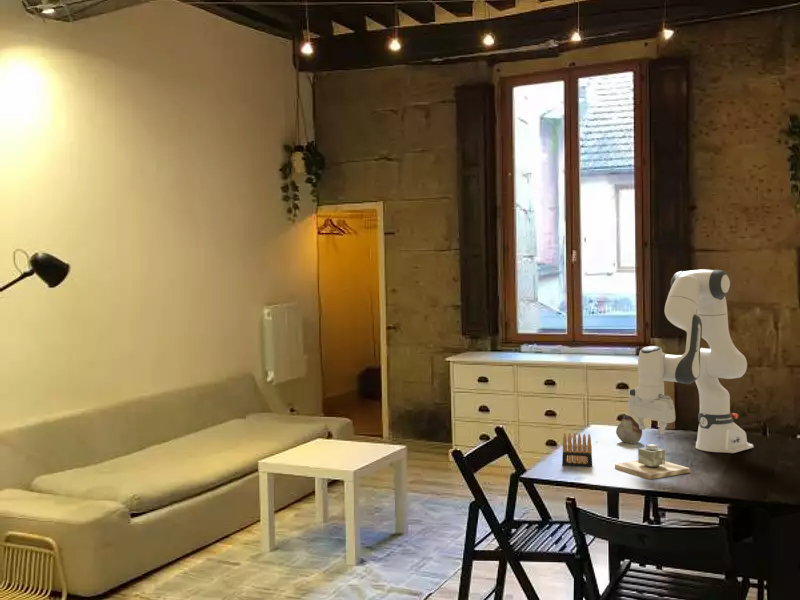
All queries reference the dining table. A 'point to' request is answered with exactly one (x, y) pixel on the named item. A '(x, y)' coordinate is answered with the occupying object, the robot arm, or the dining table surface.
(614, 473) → the dining table surface
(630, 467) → the shaft board
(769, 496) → the dining table surface
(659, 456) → the collar
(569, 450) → the ammunition clip
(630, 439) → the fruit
